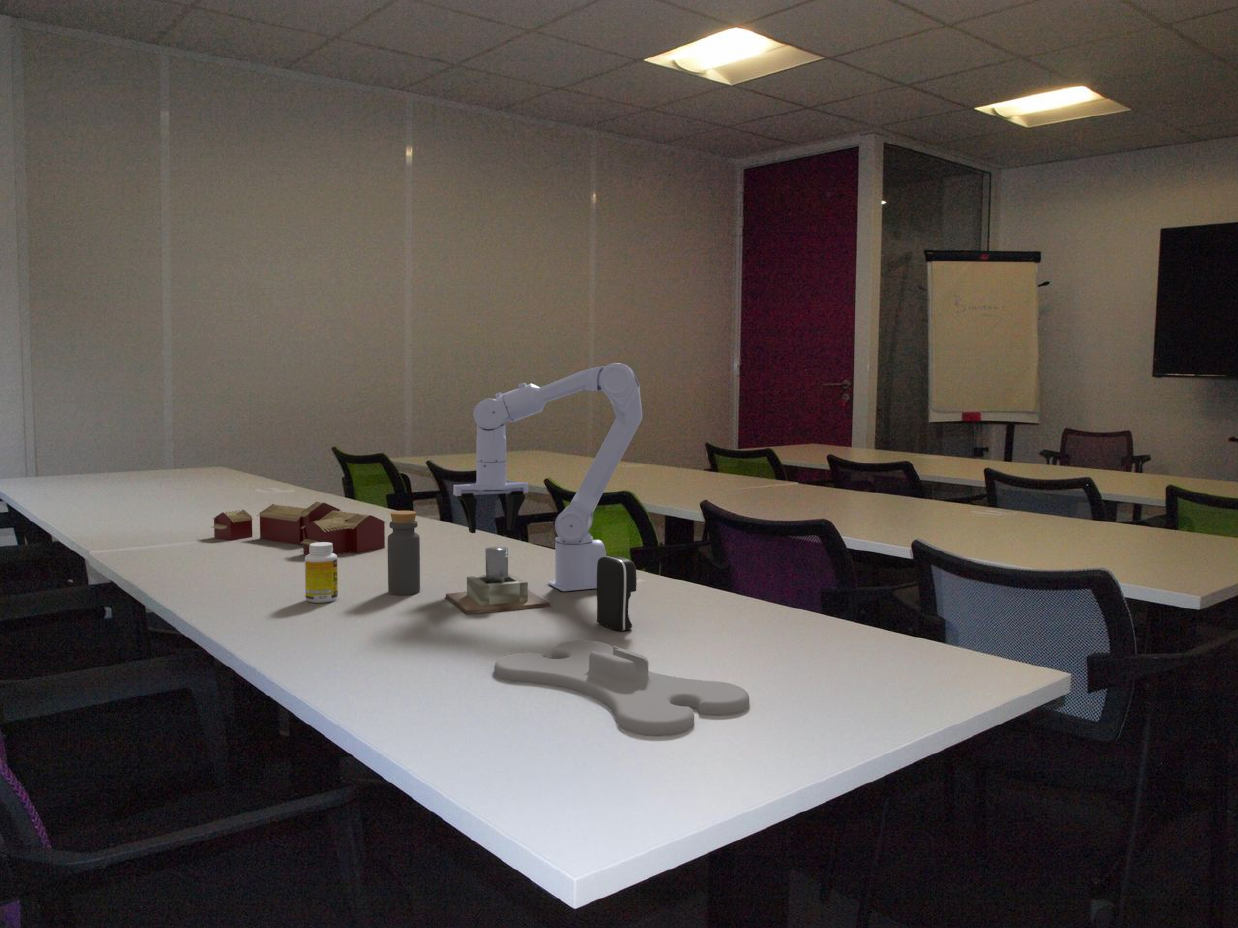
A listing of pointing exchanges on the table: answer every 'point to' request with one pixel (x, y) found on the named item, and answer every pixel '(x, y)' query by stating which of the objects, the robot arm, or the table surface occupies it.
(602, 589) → the battery charger
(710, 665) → the table surface
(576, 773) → the table surface
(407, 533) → the bottle
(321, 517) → the toy houses
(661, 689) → the holder
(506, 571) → the peg
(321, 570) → the supplement bottle
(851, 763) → the table surface
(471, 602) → the socket
